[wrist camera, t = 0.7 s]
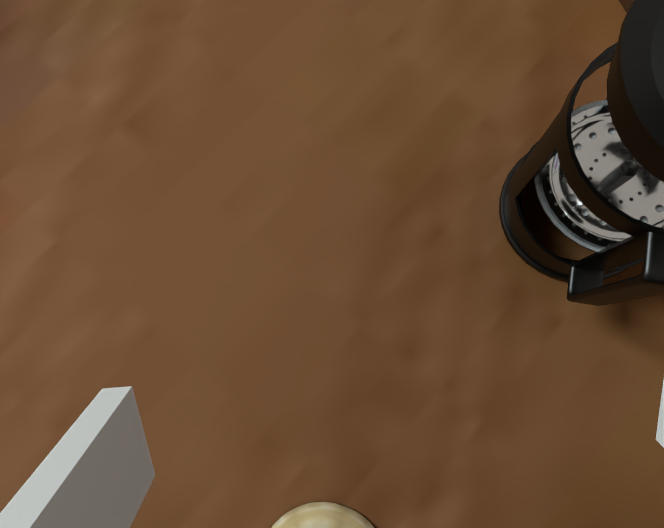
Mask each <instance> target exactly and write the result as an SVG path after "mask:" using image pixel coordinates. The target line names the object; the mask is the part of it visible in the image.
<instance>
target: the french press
mask: <svg viewBox="0 0 664 528" xmlns="http://www.w3.org/2000/svg"><path fill="white" fill-rule="evenodd" d="M610 61H611V64H610V69H609V73H608V78H607V98H606V100H602V101H596V102H592V103H589V104H587V105H584V106H581V107H578V108H577V109H575V110H573V106H574V102H575V97H576V95H577V93H578V91H579V89H580V87H581V84H582V82H583V81H584V80H585V79H586V78H588V77H589V76H590V75H591V74H592V73H593V72H594V71H596V70H597V69H598V68H600V67H601V66H603V65H605V64H607V63H608V62H610ZM533 180H534V182H535V189H536V192H537V196H538V199H539V201H540V203H541V205H542V207H543V210H544V212H545V213H546V214H547V216H548V217H549V219H550V220H551V222H552V223H553V224H554V225H555V226H556V227H557V228H558V229H559V230H560V231H561V232H562V233H563V234H564V235H565V236H567V237H568V238H570V239H571V240H572V241H574V242H575V243H577V244H579V245H581V246H583V247H585V248H587V249H589V250H592V251H594V252H596V253H594V254H592V255H590V256H588V257H586V258H583V259H581V260H579V261H577V260H570V259H566V258H562V257H559V256H557V255H555V254H553V253H552V252H551V251H549V250H548V249H546V248H545V247H544V246H543V245H542V244H541V243H540V242H539V241H538V240H537V239H536V238H535V237H534V236H533V234H532V233H531V231H530V230H529V228H528V227H527V225H526V223H525V221H524V218H523V214H522V197H523V193H524V191H525V190H526V188H527V187H528V186H529V185H530V184H531V182H532V181H533ZM499 214H500V220H501V225H502V228H503V231H504V233H505V236H506V238H507V240H508V242H509V243H510V245H511V246H512V248H513V249H514V251H515V252H516V253H517V254H518V255H519V256H520V257H521V258H522V259H523V260H524V261H525V262H526V263H527V264H528V265H530V266H531V267H533V268H534V269H536V270H537V271H538V272H541V273H543V274H545V275H547V276H550V277H552V278H555V279H559V280H564V281H568V291H567V299H568V300H569V301H571V302H577V303H584V304H590V305H597V306H601V305H607V304H612V303H617V302H622V301H627V300H632V299H637V298H642V297H647V296H652V295H657V294H662V293H664V0H633V2H632V4H631V6H630V8H629V10H628V12H627V15H626V17H625V19H624V21H623V23H622V26H621V30H620V35H619V40H618V42H617V43H616V44H614V45H612V46H611V47H609V48H607V49H606V50H605V51H604V52H603V53H601V54H600V55H599V56H598V57H597V58H596V59H595V60H593V61H592V62H591V64H590V65H589V66H588V68H587V69H586V70H585V72H584V73H583V74H582V75H581V77H580V78H579V79H578V81H577V82H576V84H575V85H574V87H573V88H572V90H571V91H570V92H569V94H568V96H567V98H566V100H565V102H564V105H563V107H562V109H561V111H560V112H559V114H558V115H557V117H556V118H555V119H554V121H553V122H552V124H551V125H550V126H549V128H548V129H547V131H546V132H545V133H544V135H543V136H542V138H541V139H540V140H539V141H538V142H537V143H536V144H535V145H533V147H532V148H531V149H530V151H529V152H528V153H527V154H526V155H525V156H524V157H523V158H521V159H520V160H519V161H518V162H517V163H516V165H515V166H514V167H513V169H512V170H511V171H510V173H509V174H508V176H507V178H506V181H505V183H504V185H503V187H502V192H501V196H500V204H499ZM643 260H644V262H643V270H642V273H641V274H640V275H639V276H636V277H632V278H629V279H625V280H622V281H618V282H615V283H612V284H608V285H605V286H603V279H605V278H608V277H611V276H614V275H616V274H618V273H620V272H622V271H623V270H625V269H627V268H629V267H630V266H632V265H635V264H637V263H639V262H641V261H643Z"/></svg>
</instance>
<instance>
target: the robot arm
mask: <svg viewBox="0 0 664 528" xmlns="http://www.w3.org/2000/svg"><path fill="white" fill-rule="evenodd" d="M656 440H657V441H658V442H659V443H660V444H661V445H662V446H663V447H664V381H663V389H662V396H661V404H660V411H659V419H658V426H657V434H656ZM154 477H155V472H154V468H153V465H152V461H151V457H150V453H149V449H148V446H147V442H146V438H145V434H144V430H143V426H142V423H141V419H140V415H139V411H138V407H137V403H136V400H135V396H134V392H133V388H132V386H130V387H117V388H105V389H102V390H101V391H100V392H99V393H98V394H97V396H96V397H95V398H94V399H93V401H92V402H91V403H90V404H89V405H88V407H87V408H86V409H85V410H84V412H83V413H82V414H81V415H80V416H79V418H78V419H77V420H76V421H75V423H74V424H73V425H72V426H71V427H70V429H69V430H68V431H67V432H66V434H65V435H64V436H63V437H62V438H61V440H60V441H59V442H58V443H57V445H56V446H55V447H54V448H53V449H52V451H51V452H50V453H49V454H48V456H47V457H46V458H45V459H44V460H43V462H42V463H41V464H40V465H39V467H38V468H37V469H36V470H35V471H34V473H33V474H32V475H31V476H30V478H29V479H28V480H27V481H26V482H25V484H24V485H23V486H22V487H21V489H20V490H19V491H18V492H17V493H16V495H15V496H14V497H13V498H12V500H11V501H10V502H9V503H8V504H7V506H6V507H5V508H4V509H3V510H2V512H1V513H0V528H130V526H131V524H132V522H133V520H134V518H135V516H136V514H137V512H138V510H139V508H140V506H141V504H142V502H143V499H144V497H145V495H146V493H147V491H148V489H149V487H150V485H151V483H152V481H153V479H154Z"/></svg>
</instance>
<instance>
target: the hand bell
mask: <svg viewBox="0 0 664 528" xmlns="http://www.w3.org/2000/svg"><path fill="white" fill-rule="evenodd" d="M272 528H375V527H374V526H373V525H372V524H371V523H370V522H369V521H368V520H367V519H366V518H364V517H363V516H362V515H361V514H359V513H358V512H356V511H354V510H352V509H350V508H348V507H345V506H342V505H339V504H336V503H329V502H313V503H308V504H305V505H302V506H299V507H297V508H295V509H293V510H291V511H289V512H287V513H286V514H285V515H283V516H282V517H281V518H280V519H279V520H278V521H277V522H276V523H275V524H274V525H273V527H272Z"/></svg>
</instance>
